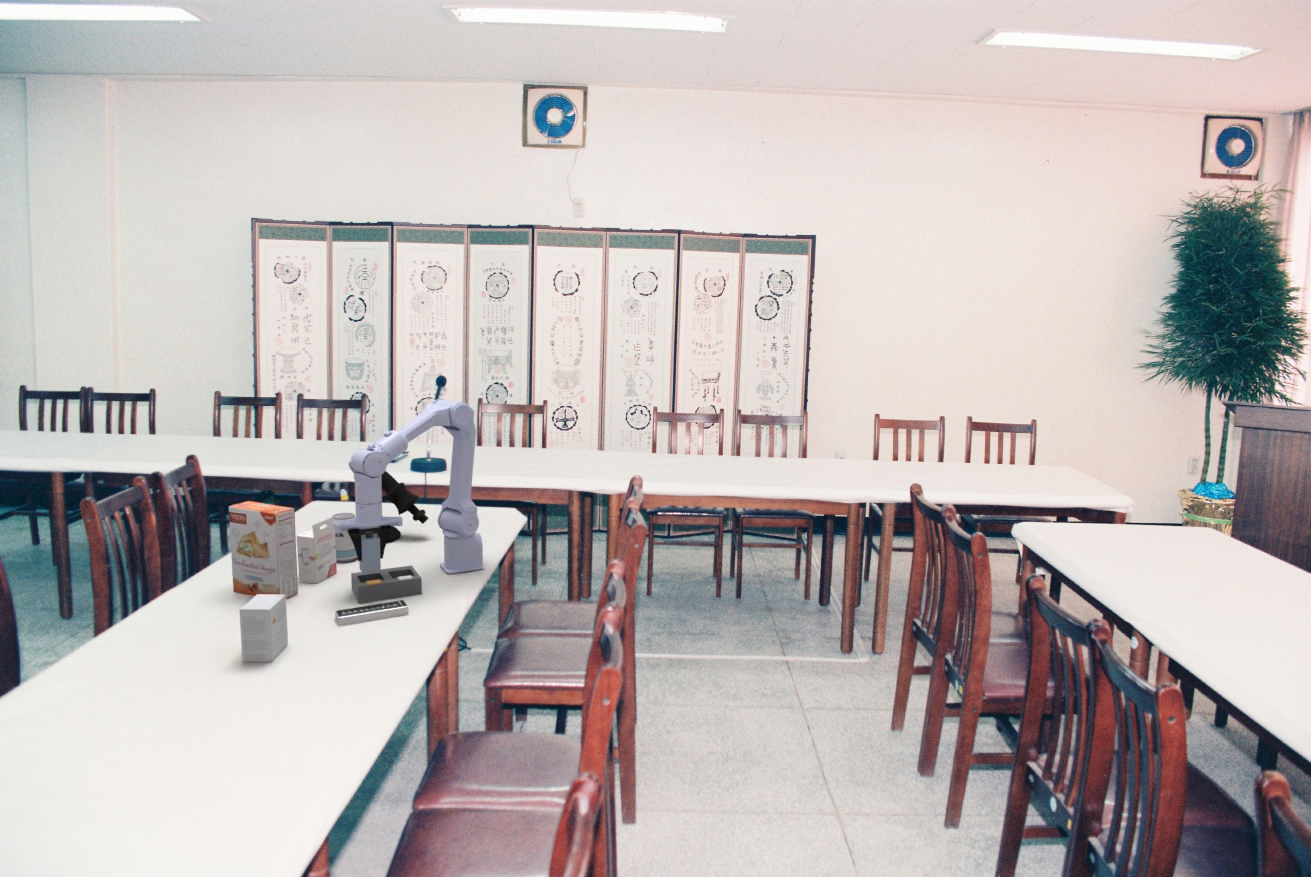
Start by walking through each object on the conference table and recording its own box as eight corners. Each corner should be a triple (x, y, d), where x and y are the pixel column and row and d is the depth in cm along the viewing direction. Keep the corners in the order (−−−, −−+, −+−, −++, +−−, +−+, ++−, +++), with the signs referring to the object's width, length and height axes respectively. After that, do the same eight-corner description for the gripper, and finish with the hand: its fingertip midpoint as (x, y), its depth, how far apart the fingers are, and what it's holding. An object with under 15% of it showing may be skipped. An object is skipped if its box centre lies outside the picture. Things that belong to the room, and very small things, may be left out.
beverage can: (324, 561, 202) (323, 516, 200) (344, 554, 208) (343, 511, 206) (345, 565, 199) (344, 520, 198) (364, 557, 206) (363, 514, 204)
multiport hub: (334, 620, 165) (334, 610, 165) (403, 609, 173) (403, 599, 172) (338, 628, 161) (338, 617, 161) (408, 616, 169) (408, 606, 169)
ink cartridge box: (319, 571, 194) (317, 514, 192) (337, 573, 193) (335, 516, 191) (297, 582, 186) (295, 523, 184) (316, 584, 185) (313, 525, 183)
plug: (377, 566, 182) (376, 529, 181) (380, 571, 178) (379, 533, 177) (359, 568, 180) (358, 531, 179) (362, 573, 176) (361, 535, 175)
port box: (411, 581, 189) (411, 564, 189) (421, 594, 181) (421, 576, 180) (351, 589, 182) (351, 572, 182) (358, 603, 174) (358, 585, 173)
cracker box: (231, 593, 177) (226, 505, 174) (253, 585, 183) (249, 499, 180) (278, 603, 173) (274, 512, 169) (299, 594, 178) (295, 506, 175)
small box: (259, 644, 151) (256, 593, 150) (288, 644, 152) (286, 593, 150) (241, 662, 144) (238, 608, 142) (272, 662, 144) (269, 609, 142)
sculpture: (358, 529, 232) (356, 448, 228) (436, 532, 231) (435, 451, 227) (336, 544, 216) (333, 457, 213) (419, 548, 216) (418, 460, 212)
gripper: (397, 495, 183) (398, 550, 186) (332, 500, 176) (334, 557, 178) (404, 501, 177) (405, 558, 180) (336, 507, 170) (338, 566, 172)
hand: (370, 558), depth 179 cm, fingers closed on plug, 4 cm apart
